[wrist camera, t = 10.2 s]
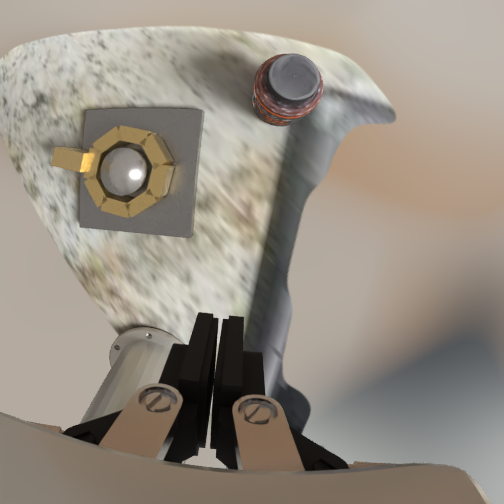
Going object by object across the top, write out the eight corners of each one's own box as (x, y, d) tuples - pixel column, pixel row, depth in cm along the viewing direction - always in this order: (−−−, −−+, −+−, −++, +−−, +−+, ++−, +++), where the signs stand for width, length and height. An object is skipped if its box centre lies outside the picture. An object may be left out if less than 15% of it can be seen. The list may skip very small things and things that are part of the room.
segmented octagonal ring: (182, 139, 31) (173, 136, 27) (160, 220, 34) (150, 227, 30) (80, 118, 30) (62, 115, 26) (64, 192, 32) (45, 197, 28)
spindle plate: (192, 235, 36) (184, 247, 31) (75, 223, 35) (54, 233, 30) (204, 111, 32) (197, 103, 27) (81, 112, 31) (59, 107, 26)
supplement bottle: (244, 116, 32) (242, 95, 21) (263, 69, 31) (269, 31, 20) (295, 135, 33) (317, 123, 22) (313, 89, 31) (341, 59, 21)
